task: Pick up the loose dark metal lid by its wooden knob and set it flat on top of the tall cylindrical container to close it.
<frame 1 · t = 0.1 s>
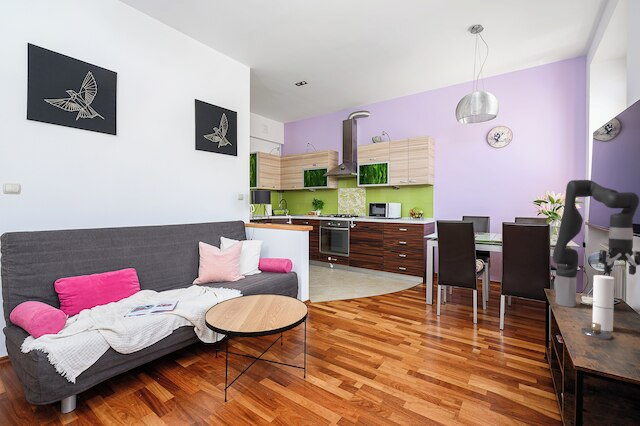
hand: (619, 273, 130), 29 cm above the table, tool pointing down, fingers open, 8 cm apart
cylindrical container: (602, 328, 141), on the table
lid: (595, 335, 135), on the table
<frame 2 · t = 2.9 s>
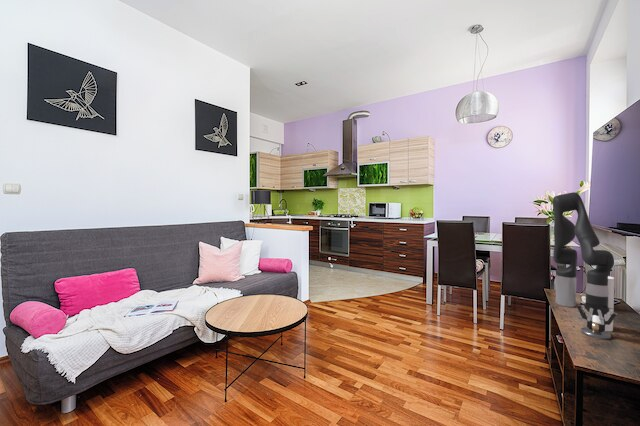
hand: (595, 330, 135), 2 cm above the table, tool pointing down, fingers closed on lid, 3 cm apart
lid: (595, 334, 135), on the table, touching gripper
everything else where it was.
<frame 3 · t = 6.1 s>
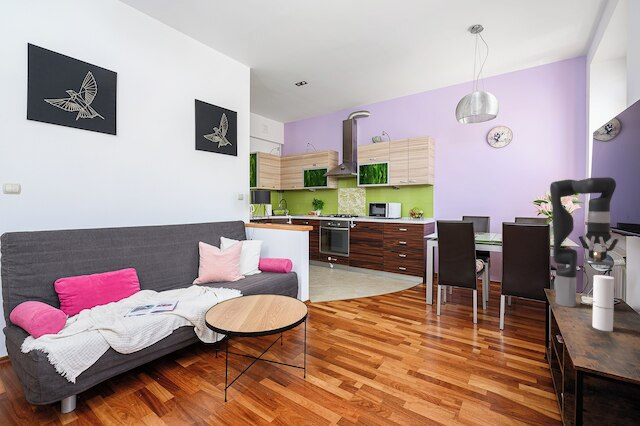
hand: (597, 258, 134), 35 cm above the table, tool pointing down, fingers closed on lid, 3 cm apart
lid: (597, 263, 134), point 33 cm above the table, touching gripper
everything else where it was.
when the fingers open (28 cm above the table, at t = 9.1 s): lid drops 1 cm, resting on cylindrical container.
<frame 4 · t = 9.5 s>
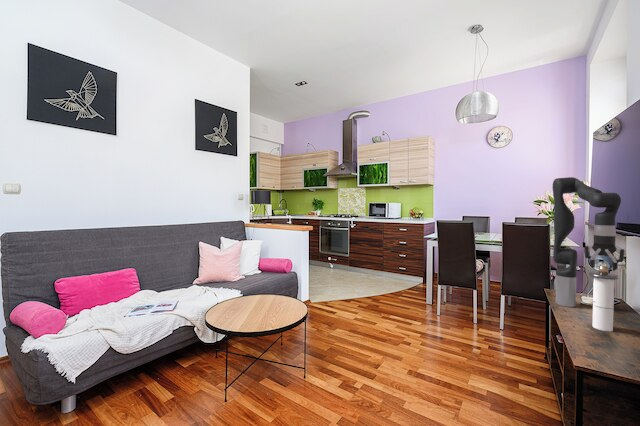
hand: (603, 268, 140), 29 cm above the table, tool pointing down, fingers open, 6 cm apart
cylindrical container: (602, 328, 141), on the table, touching lid
lid: (603, 276, 140), point 25 cm above the table, touching cylindrical container
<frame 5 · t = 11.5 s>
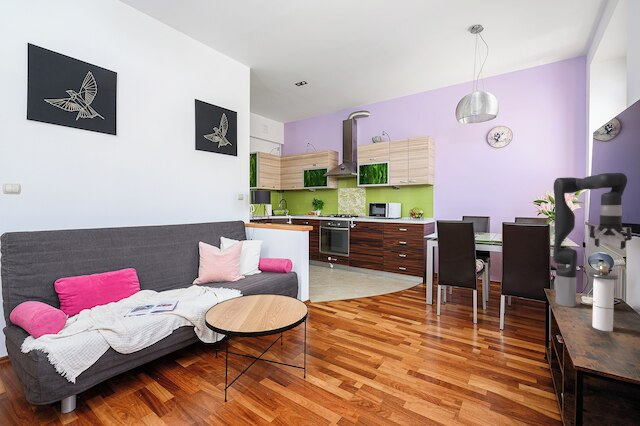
hand: (609, 247, 142), 39 cm above the table, tool pointing down, fingers open, 8 cm apart
nothing on the table moved.
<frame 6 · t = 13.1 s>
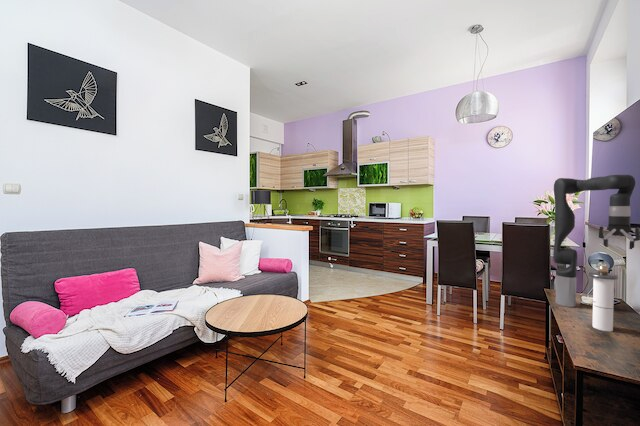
hand: (618, 247, 145), 38 cm above the table, tool pointing down, fingers open, 8 cm apart
nothing on the table moved.
at the end: lid 0.2 cm off-centre on the cylindrical container, point 25.2 cm above the cylindrical container's base; lid tilted 0°; cylindrical container tilted 0° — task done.
